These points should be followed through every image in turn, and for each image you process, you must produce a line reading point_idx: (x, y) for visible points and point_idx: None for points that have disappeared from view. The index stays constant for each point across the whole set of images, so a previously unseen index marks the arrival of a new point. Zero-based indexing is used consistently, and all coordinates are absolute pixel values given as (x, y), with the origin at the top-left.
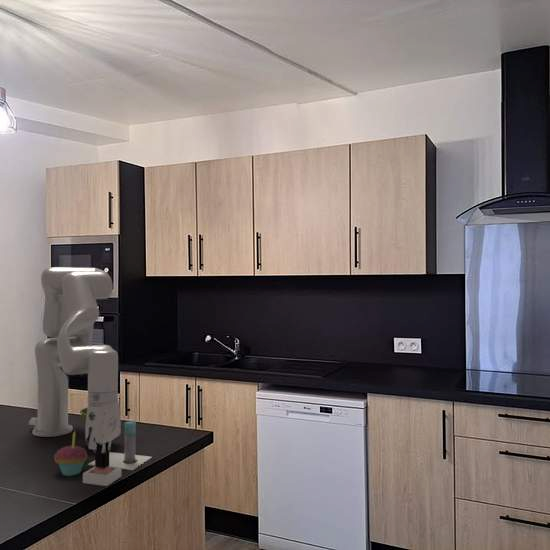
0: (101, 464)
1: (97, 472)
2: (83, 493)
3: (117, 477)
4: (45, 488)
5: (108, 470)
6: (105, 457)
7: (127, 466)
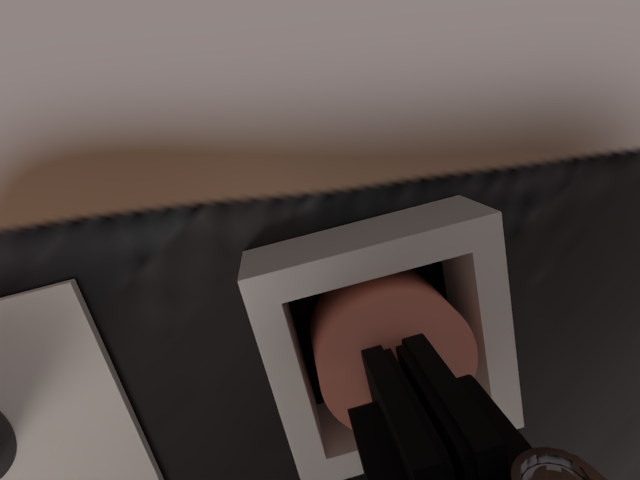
0: (468, 375)
1: (472, 345)
2: (630, 232)
3: (306, 238)
4: (633, 474)
5: (404, 294)
6: (472, 403)
7: (52, 369)
